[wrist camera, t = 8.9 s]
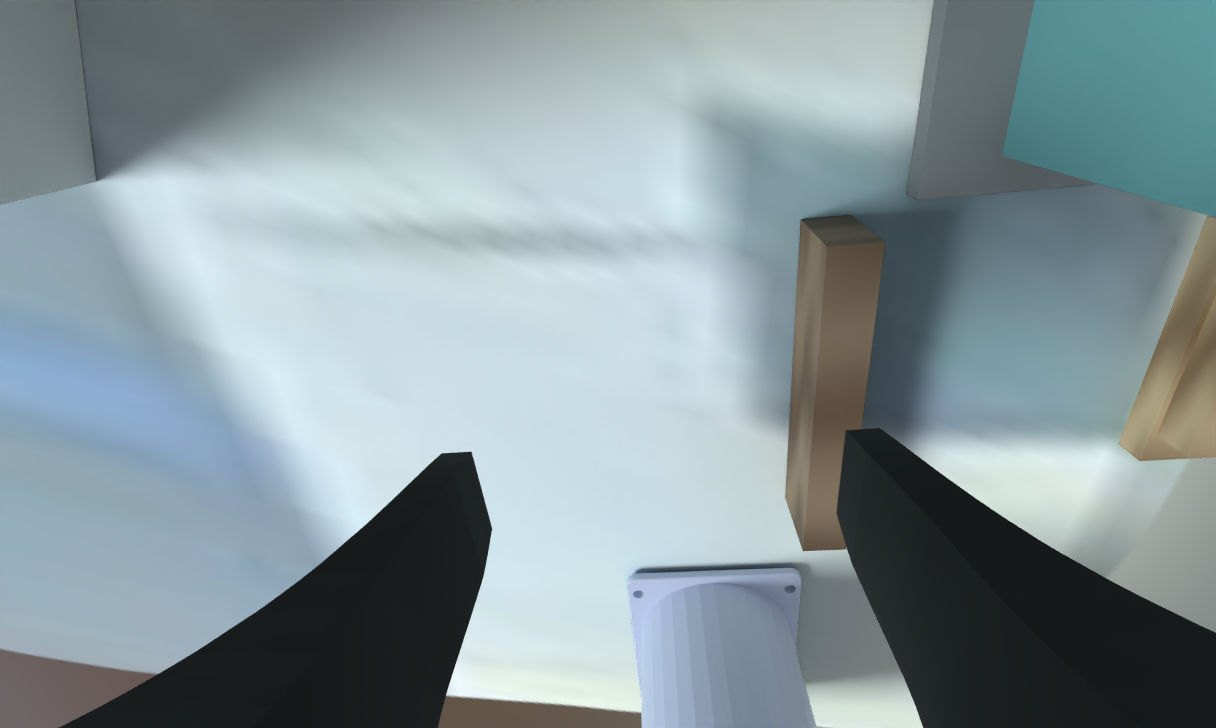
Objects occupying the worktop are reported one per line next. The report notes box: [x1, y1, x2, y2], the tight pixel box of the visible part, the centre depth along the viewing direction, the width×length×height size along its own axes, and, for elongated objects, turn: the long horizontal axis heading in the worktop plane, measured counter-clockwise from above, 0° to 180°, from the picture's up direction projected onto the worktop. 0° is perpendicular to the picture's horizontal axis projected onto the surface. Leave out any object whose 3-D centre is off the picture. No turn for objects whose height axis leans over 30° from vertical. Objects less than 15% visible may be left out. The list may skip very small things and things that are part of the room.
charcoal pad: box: [907, 0, 1098, 200], centre depth 16 cm, size 9×7×1 cm
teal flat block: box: [1002, 0, 1216, 217], centre depth 12 cm, size 7×2×8 cm, turn 6°
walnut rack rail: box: [785, 215, 885, 551], centre depth 20 cm, size 12×2×3 cm, turn 6°
